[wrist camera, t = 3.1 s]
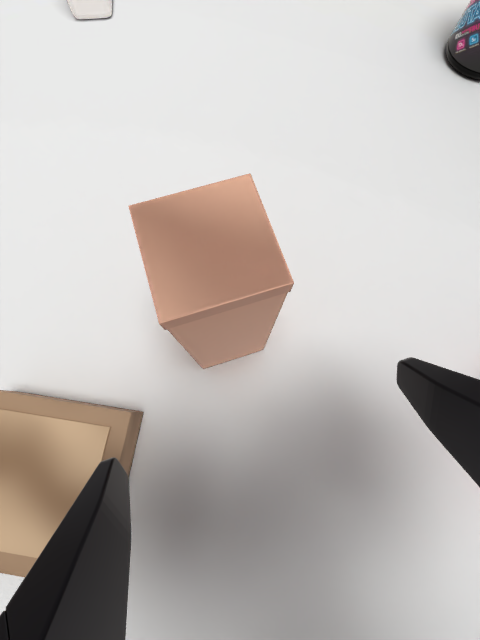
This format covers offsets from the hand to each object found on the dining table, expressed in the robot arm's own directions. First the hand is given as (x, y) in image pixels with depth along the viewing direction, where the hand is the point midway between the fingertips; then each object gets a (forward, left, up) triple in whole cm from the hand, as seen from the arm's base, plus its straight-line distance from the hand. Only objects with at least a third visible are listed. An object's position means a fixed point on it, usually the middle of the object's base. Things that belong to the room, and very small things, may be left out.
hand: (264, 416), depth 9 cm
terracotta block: (+5, +3, -12) cm, 14 cm away
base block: (-6, +12, -12) cm, 18 cm away
